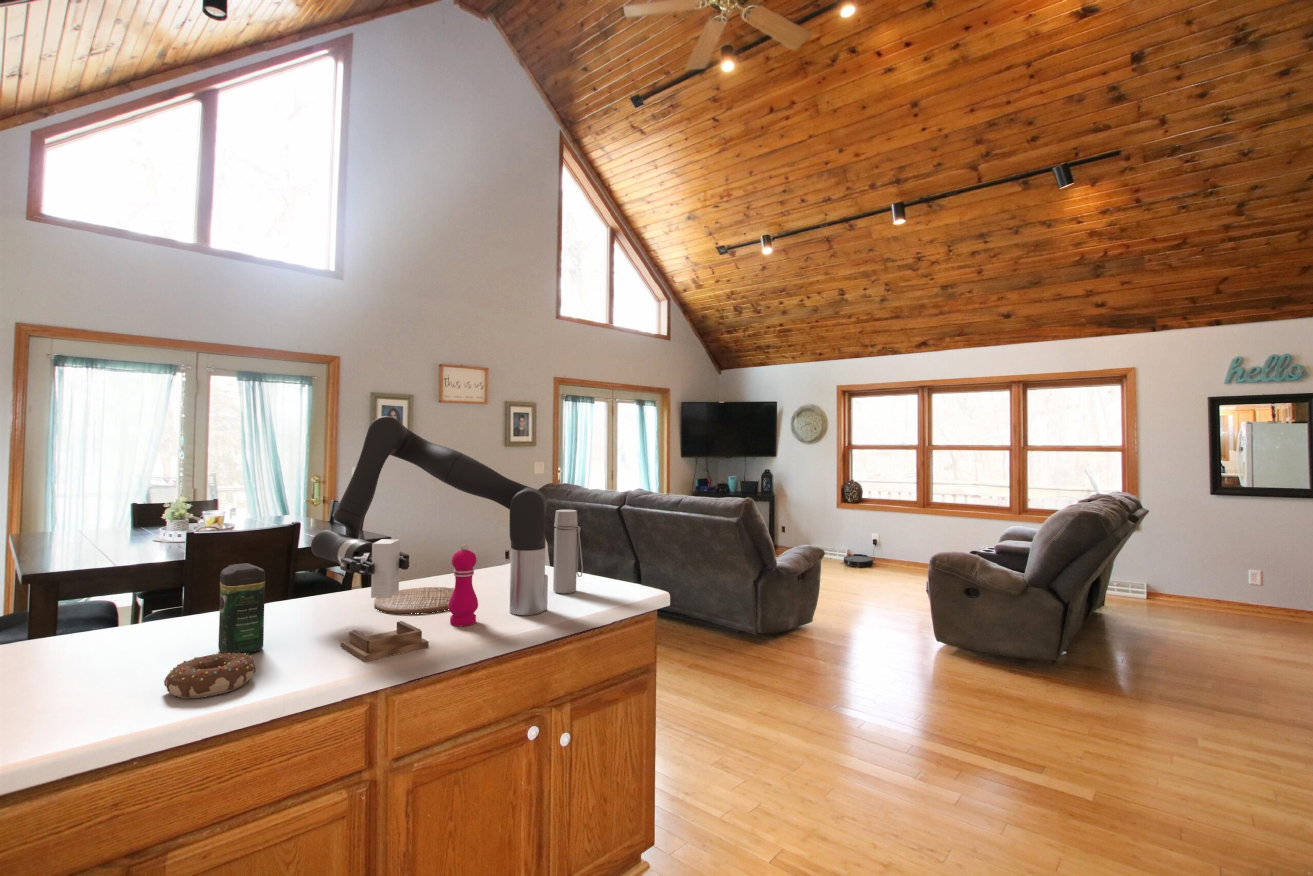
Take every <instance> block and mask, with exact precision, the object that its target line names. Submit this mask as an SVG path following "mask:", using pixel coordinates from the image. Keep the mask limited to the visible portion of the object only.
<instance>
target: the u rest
mask: <svg viewBox="0 0 1313 876" xmlns="http://www.w3.org/2000/svg"><path fill="white" fill-rule="evenodd" d="M348 634H349V637H348V638H349V639H348V640H342V641H341V642H340V648H341V647H342V648H341V649H343V650H344V651H346V650H347V652H348V653H349V652H350V653H349V654H351V655H352V656H355V657H356V658H358V659H359V660H361V661H362V662H365V663H366V662H370V661H374V660H378V659H382V658H386V657H391V656H395V655H394V654H396V655H399V654H398V653H400V654H403V653H402V652H404V653H407V652H411V651H417V650H421V649H424V648H429V641H428V640H426V639H424V638H423V631H422V630H421V628H418V627H416V626H414V625H412V624H410V623H407V622H405V621H403V620H399V621H396V630H390V631H386V632H380V633H376V634H371V635H365V634H363V633H362V632H360V631H358V630H357V629H354V630H350V631H349V633H348ZM416 649H417V650H416ZM390 655H391V656H390Z"/></svg>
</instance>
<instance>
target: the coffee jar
mask: <svg viewBox="0 0 1313 876" xmlns="http://www.w3.org/2000/svg"><path fill="white" fill-rule="evenodd" d="M219 575H220V579H219V622H218V643H217V645H218V650H219V652H220V654H223V653H225V654H226V653H243V654H244V653H246V654H247V655H250V654H252V653H254V652H257V651H261V650H263V647H264V636H265V634H264V633H265V631H264V629H265V628H264V627H265V592H266V588H265V587H266V572H265V570H264V568H261V567H259V566H257V565H254V564H252V563H249V562H248V563H247V562H246V563H237V564H236V563H234V564H229V565H227V567H225V568H223V569H222V570H221V572H220V574H219Z"/></svg>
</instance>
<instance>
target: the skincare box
mask: <svg viewBox="0 0 1313 876" xmlns="http://www.w3.org/2000/svg"><path fill="white" fill-rule="evenodd" d="M400 541H401V540H400V539H393V538H383V539H382V538H381V539H379V540H378V541H375V542H372V543H373V544H372V563H373V564H374V565H375V569H374V574H371V582H370V583H371V588H370V590H371V591H370V595H371V599H376V598H390V597H392V596H393V595H394V594H395V593H397V592H398V591H399V590H400V568H399V552H401V551H400V547H401V545H400V544H401V543H400Z"/></svg>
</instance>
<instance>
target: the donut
mask: <svg viewBox="0 0 1313 876" xmlns="http://www.w3.org/2000/svg"><path fill="white" fill-rule="evenodd" d="M182 661H183V662H181V663H179V664H178V663H177V664H176V666H175V667H173V668H172V669H171V670H170V671H169V673H168V674H167V675H166V677H164V681H163V683H164V687H166V691H167V692H168V693H170V694H171V695H174V697H176V696H178V697H177V698H180V697H181V698H180V699H200V698H199V697H202V698H206V697H205V696H209V697H213V696H212V695H214V696H217V695H216V694H219V695H222V694H221V693H223V694H226V693H229V692H232V691H234V690H237V689H239V688H240V687H243V686H244V685H245V684H247V682H248V681H249V680H250V679H252V678H253V675H254V674H255V673H256V670H257V668H256V664H255V661H254V659H253V658H252V656H251V655H250V654H247V655H246V653H244V654H243V653H226V654H225V653H223V654H222V653H215V654H214V653H213V654H209V655H205V656H199V657H198V656H195V657H193V658H192V659H188V660H187V661H186V660H182ZM242 685H243V686H242Z"/></svg>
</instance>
